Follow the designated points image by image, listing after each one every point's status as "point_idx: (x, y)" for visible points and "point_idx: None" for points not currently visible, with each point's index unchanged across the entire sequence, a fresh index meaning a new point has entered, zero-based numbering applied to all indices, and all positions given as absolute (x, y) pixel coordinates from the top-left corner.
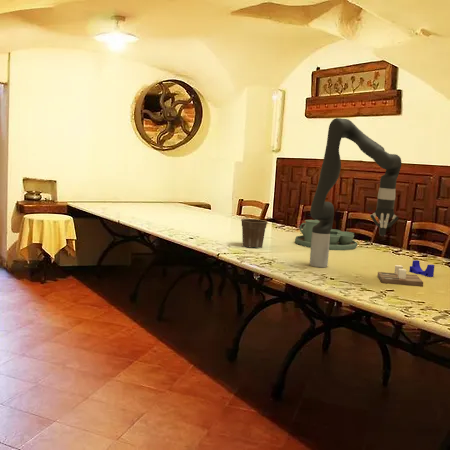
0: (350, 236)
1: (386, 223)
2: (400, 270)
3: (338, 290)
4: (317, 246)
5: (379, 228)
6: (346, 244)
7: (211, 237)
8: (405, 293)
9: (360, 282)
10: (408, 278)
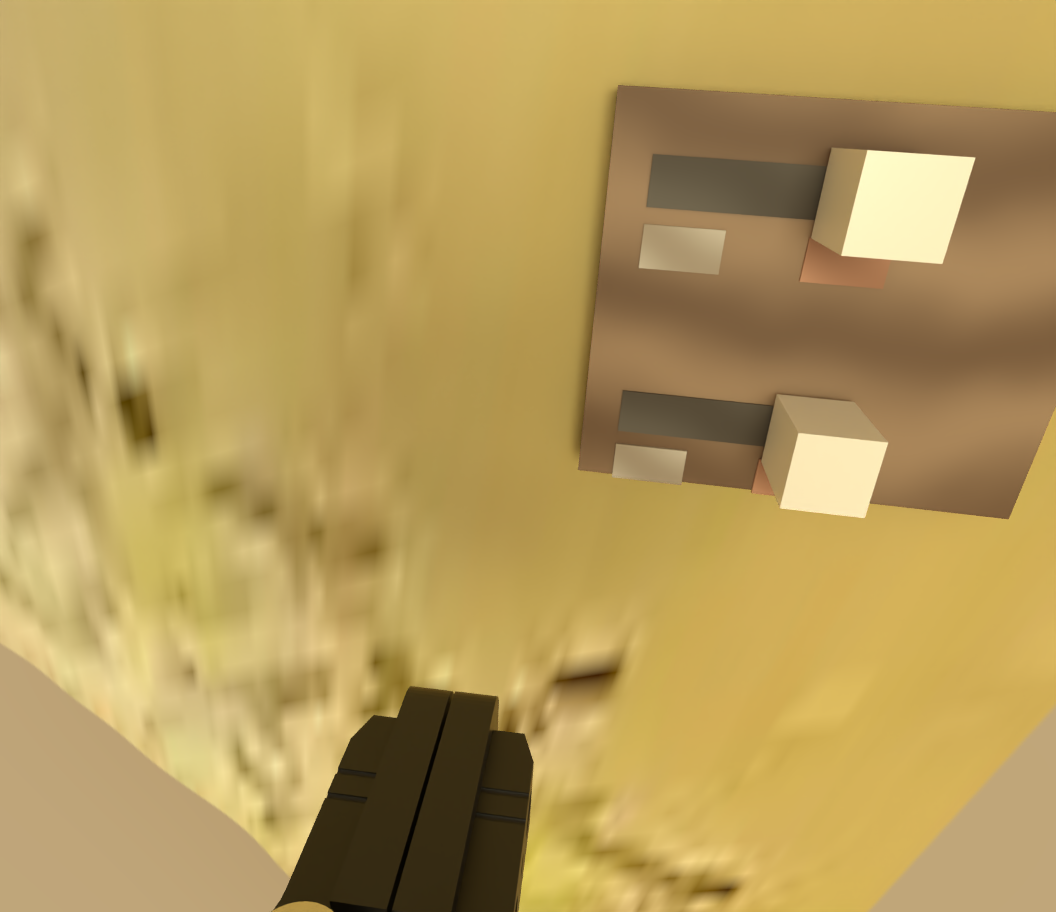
0: None
1: None
2: (789, 507)
3: (226, 735)
4: None
5: (294, 885)
6: None
7: None
8: (687, 735)
9: (382, 486)
10: (909, 386)
